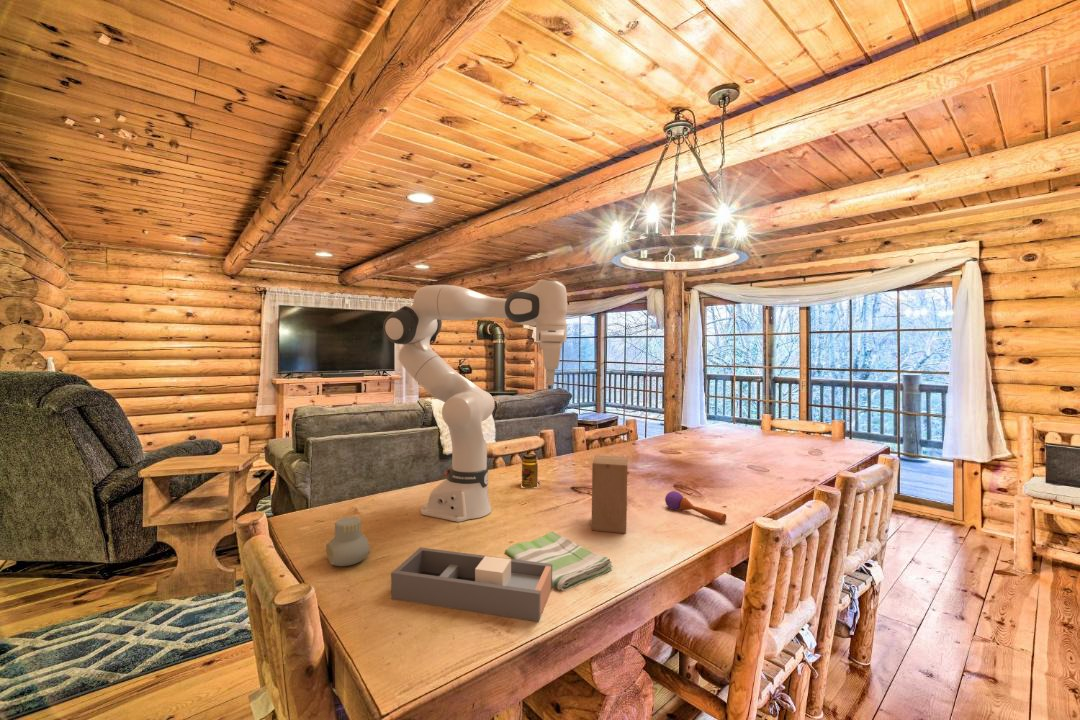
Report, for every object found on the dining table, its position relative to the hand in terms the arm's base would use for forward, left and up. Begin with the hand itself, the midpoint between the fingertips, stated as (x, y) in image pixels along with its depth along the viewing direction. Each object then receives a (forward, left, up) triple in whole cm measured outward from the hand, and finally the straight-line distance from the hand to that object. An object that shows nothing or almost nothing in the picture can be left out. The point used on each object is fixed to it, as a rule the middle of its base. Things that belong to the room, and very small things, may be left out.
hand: (550, 383), depth 129 cm
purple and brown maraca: (+43, +25, -43) cm, 66 cm away
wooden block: (+17, +8, -43) cm, 47 cm away
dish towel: (+6, -18, -44) cm, 48 cm away
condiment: (-16, +40, -43) cm, 61 cm away
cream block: (-4, -37, -40) cm, 54 cm away
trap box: (-8, -37, -43) cm, 57 cm away
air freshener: (-44, -31, -43) cm, 69 cm away
